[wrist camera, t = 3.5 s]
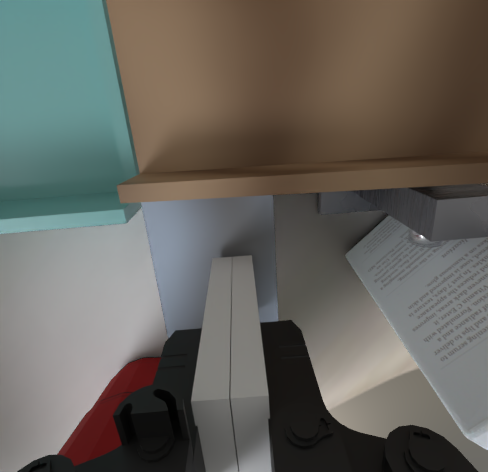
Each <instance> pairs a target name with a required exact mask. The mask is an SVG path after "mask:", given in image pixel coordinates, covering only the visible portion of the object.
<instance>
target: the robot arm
mask: <svg viewBox="0 0 488 472" xmlns="http://www.w3.org/2000/svg"><path fill="white" fill-rule="evenodd" d="M113 418H114V421H115V425H116V428H117V431H118V434H119V437H120V440H121V443H122V445H120V446H119V447H117V448H116V449H114V450H112V451H110V452H108V453H106V454H104V455H102V456H99V457H97V458H94V459H91V460H89V461H86V462H84V463H81V464H79V465H76V466H74V465H73V463H72V460H71V459H69V458H67V457H65V456H63V455H48V456H45V457H42V458H40V459H37V460H34V461H33V462H31V463H30V464H28V465H27V466H25V467H24V468H22V469H21V470H19V471H18V472H478V471H477V470H476V469H475V468H474V467H473V465H472V464H471V463H470V462H469V461H468V460H467V459H466V458H465V457H464V456H463V455H462V453H461V452H460V451H458V449H457V448H456V447H455V446H453V445H452V444H451V443H450V442H449V441H447V440H446V439H445V438H444V437H443V436H441V435H439V434H437V433H435V432H433V431H431V430H429V429H427V428H423V427H419V426H414V425H408V426H401V427H398V428H396V429H395V430H393V431H392V432H390V433H389V435H388V437H387V439H385V438H381V437H376V436H372V435H368V434H364V433H360V432H357V431H354V430H351V429H349V428H347V427H346V426H344V425H342V424H340V423H339V422H338V421H337V420H336V419H335V418H333V417H332V415H331V414H330V413H329V412H328V410H327V409H326V407H325V405H324V402H323V400H322V396H321V393H320V390H319V387H318V383H317V380H316V377H315V374H314V370H313V367H312V364H311V360H310V357H309V354H308V351H307V347H306V345H305V341H304V338H303V334H302V331H301V330H300V329H299V328H298V327H297V326H296V325H295V324H294V322H293V321H292V320H287V321H274V322H262V323H260V320H259V312H258V303H257V295H256V287H255V279H254V270H253V262H252V255H248V256H235V257H222V258H213V260H212V266H211V273H210V279H209V286H208V293H207V299H206V306H205V312H204V319H203V325H202V328H199V329H187V330H175V332H174V333H173V334H172V335H171V336H170V337H169V339H168V340H167V341H166V342H165V345H164V348H163V352H162V355H161V359H160V362H159V365H158V371H157V372H156V375H155V378H154V382H153V385H149V386H145V387H142V388H140V389H138V390H136V391H135V392H133V393H131V394H130V395H129V396H127V397H126V398H125V399H124V400H123V401H122V402H121V403H120V404H119V406H118V407H117V409H116V411H115V412H114V414H113Z"/></svg>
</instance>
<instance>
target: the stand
mask: <svg viewBox="0 0 488 472" xmlns="http://www.w3.org/2000/svg"><path fill="white" fill-rule="evenodd" d="M373 210H382V211H383V212H385V213H387V214H388V215H390V216H391V217H393V218H394V219H396V220H398V221H399V222H401V223H402V224H404V225H405V226H407V227H409V233H408V242H409V243H411V244H413V245H416V246H420V247H438V246H440V245H441V244H442V241H446V240H457V239H469V238H481V237H488V186H484V185H481V184H462V185H444V186H426V187H408V188H390V189H372V190H354V191H336V192H318V212H319V213H320V214H321V215H326V214H338V213H350V212H362V211H373Z"/></svg>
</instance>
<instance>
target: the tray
mask: <svg viewBox="0 0 488 472" xmlns="http://www.w3.org/2000/svg"><path fill="white" fill-rule="evenodd" d="M138 174H140V172H139V167H138V162H137V157H136V152H135V147H134V142H133V136H132V131H131V126H130V121H129V116H128V111H127V106H126V101H125V95H124V90H123V85H122V80H121V75H120V70H119V65H118V59H117V54H116V49H115V44H114V39H113V34H112V29H111V24H110V18H109V13H108V8H107V3H106V0H0V234H5V233H17V232H29V231H41V230H53V229H64V228H76V227H88V226H100V225H112V224H124V223H127V222H128V221H129V220H130V219H131V218H132V217H133V216H134V215H135V214H136V213H137V212H138V210H139V209H140V208H141V207H142V205H141V202H138V203H120V199H119V195H118V190H117V186H116V185H118V184H120V183H122V182H124V181H126V180H128V179H130V178H132V177H134V176H136V175H138Z"/></svg>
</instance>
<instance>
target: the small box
mask: <svg viewBox="0 0 488 472" xmlns="http://www.w3.org/2000/svg"><path fill="white" fill-rule="evenodd" d="M408 233H409V227H407V226H405V225H404V224H402V223H401V222H399V221H398V220H396V219H394V218H393V217H391V216H390V215H389V216H387V217H386V218H385V219H384V220H383V221H382V222H381V223H380V224H379V225H377V226H376V227H375V228H374V229H373V230H372V231H371V232H370V233H369V234H367V235H366V236H365V237H364V238H363V239H362V240H361V241H360V242H359V243H357V244H356V245H355V246H354V247H353V248H352V249H351V250H350V251H348V252H347V253H346V254H345V257H346V259H347V260H348V262H349V263H350V265H351V266H352V268H353V269H354V271H355V272H356V274H357V275H358V277H359V278H360V280H361V281H362V283H363V284H364V286H365V287H366V289H367V290H368V292H369V293H370V295H371V296H372V298H373V299H374V300H375V302H376V304H377V305H378V307H379V308H380V310H381V311H382V313H383V314H384V316H385V317H386V319H387V320H388V322H389V323H390V325H391V326H392V328H393V329H394V331H395V332H396V334H397V335H398V337H399V338H400V340H401V341H402V343H403V344H404V346H405V347H406V349H407V350H408V352H409V353H410V355H411V356H412V358H413V359H414V361H415V362H416V364H417V365H418V367H419V368H420V370H421V371H422V373H423V374H424V376H425V377H426V378H427V380H428V382H429V383H430V385H431V386H432V388H433V389H434V391H435V392H436V394H437V395H438V397H439V398H440V400H441V401H442V403H443V404H444V406H445V407H446V409H447V410H448V412H449V413H450V415H451V416H452V418H453V419H454V420H455V422H456V424H457V425H458V427H459V428H460V430H461V431H462V433H463V434H464V435H465V436H466V437H467V438H468V439H469V440H471V441H473V442H475V443H476V444H478V445H480V446H481V447H483V448H484V449H486V450H488V237H481V238H469V239H457V240H446V241H442V244H441V245H440V246H438V247H420V246H416V245H413V244H411V243H409V242H408Z"/></svg>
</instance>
